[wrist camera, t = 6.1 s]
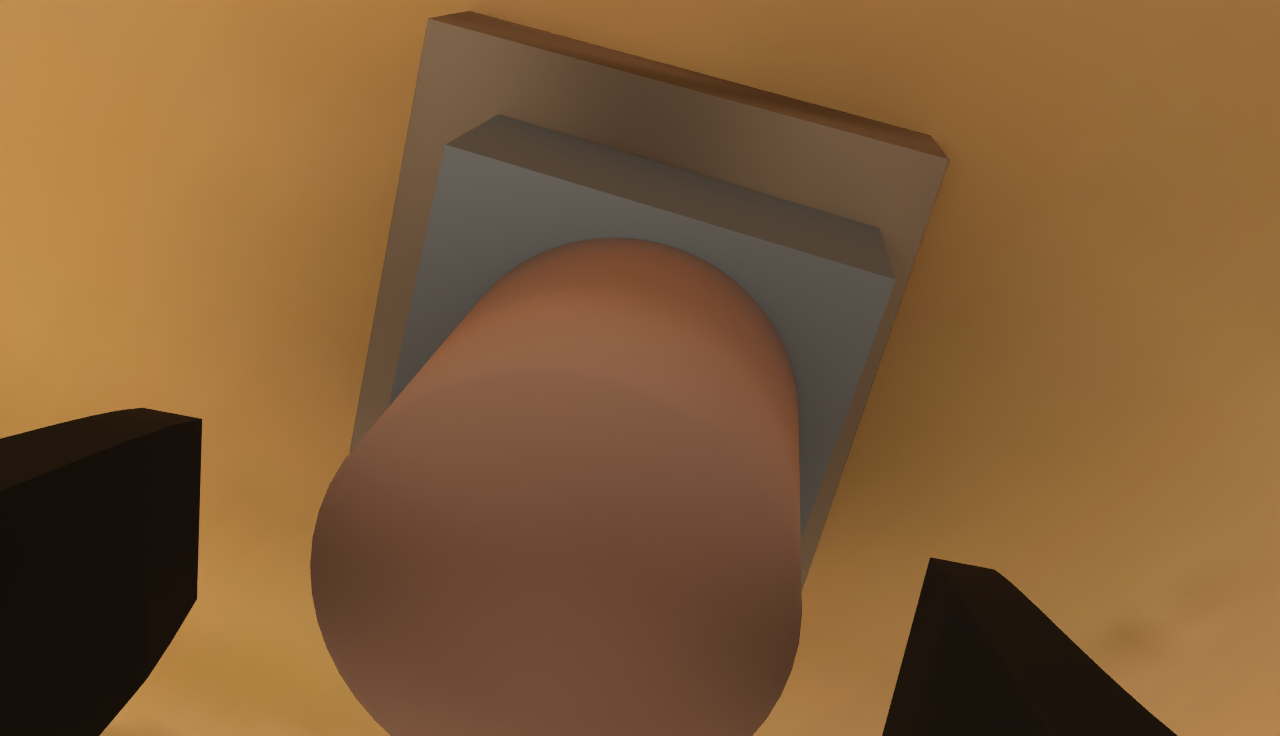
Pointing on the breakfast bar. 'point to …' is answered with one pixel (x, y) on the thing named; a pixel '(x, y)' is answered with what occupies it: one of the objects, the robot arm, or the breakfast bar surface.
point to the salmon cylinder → (576, 512)
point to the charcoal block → (662, 213)
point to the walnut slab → (660, 131)
